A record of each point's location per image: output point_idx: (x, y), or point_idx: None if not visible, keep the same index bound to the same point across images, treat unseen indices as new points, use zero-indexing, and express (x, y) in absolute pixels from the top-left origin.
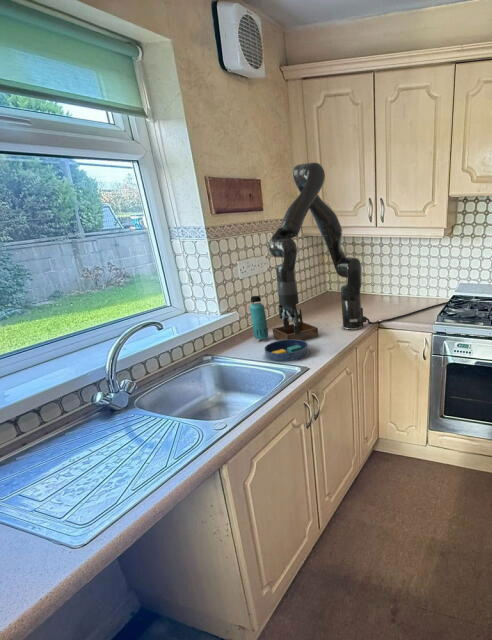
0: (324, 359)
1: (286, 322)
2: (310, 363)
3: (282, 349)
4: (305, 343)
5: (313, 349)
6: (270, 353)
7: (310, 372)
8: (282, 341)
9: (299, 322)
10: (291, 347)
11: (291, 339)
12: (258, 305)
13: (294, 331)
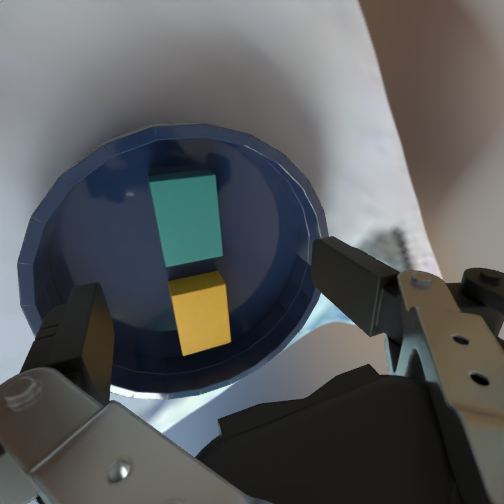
0: (378, 116)
1: (98, 377)
2: (363, 203)
3: (183, 299)
4: (220, 140)
5: (194, 65)
6: (244, 374)
7: (422, 240)
8: (36, 276)
9: (501, 321)
10: (181, 240)
11: (44, 202)
12: None
13: (330, 299)
